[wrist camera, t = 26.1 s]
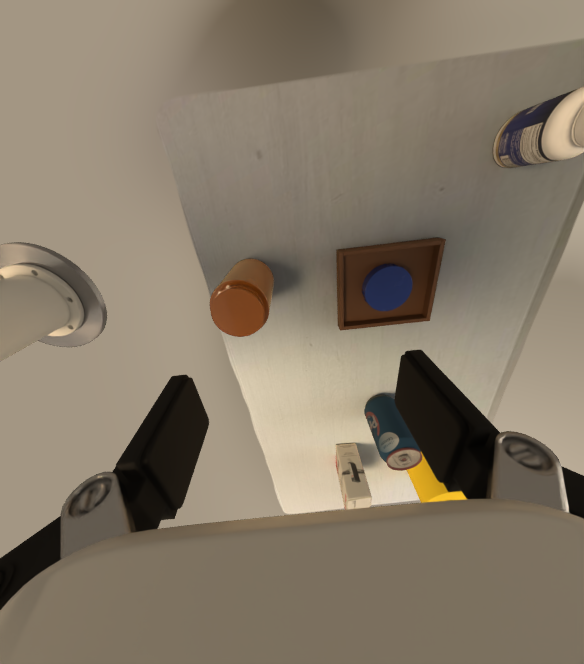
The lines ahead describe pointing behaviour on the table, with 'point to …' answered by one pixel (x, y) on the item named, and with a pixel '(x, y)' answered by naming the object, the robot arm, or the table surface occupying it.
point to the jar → (243, 298)
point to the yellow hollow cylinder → (430, 485)
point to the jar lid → (387, 287)
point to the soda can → (391, 434)
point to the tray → (359, 261)
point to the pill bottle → (543, 132)
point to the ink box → (352, 477)
